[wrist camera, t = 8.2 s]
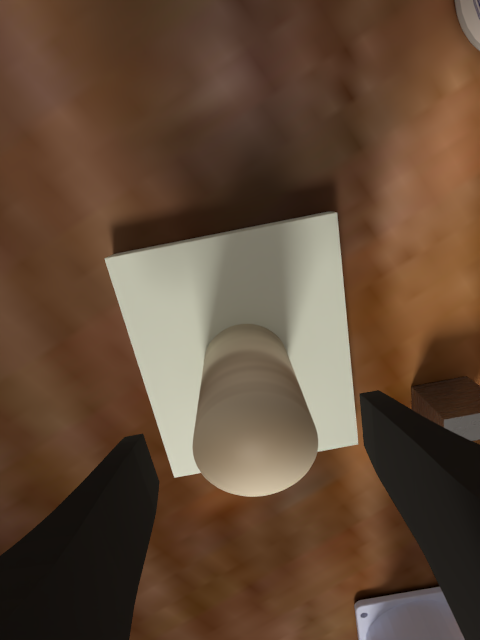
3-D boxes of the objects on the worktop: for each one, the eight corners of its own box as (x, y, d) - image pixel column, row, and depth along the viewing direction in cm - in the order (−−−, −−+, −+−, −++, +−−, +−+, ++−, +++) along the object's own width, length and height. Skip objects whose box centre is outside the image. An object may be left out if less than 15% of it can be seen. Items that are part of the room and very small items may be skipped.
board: (350, 430, 20) (358, 444, 19) (177, 461, 20) (174, 477, 19) (329, 211, 16) (336, 212, 15) (112, 254, 16) (104, 258, 15)
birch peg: (294, 389, 17) (327, 481, 12) (216, 407, 18) (211, 507, 12) (278, 314, 16) (306, 379, 10) (193, 335, 16) (176, 409, 11)
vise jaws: (462, 492, 22) (498, 536, 19) (414, 500, 22) (442, 546, 19) (466, 376, 19) (509, 407, 16) (411, 386, 19) (443, 419, 16)
